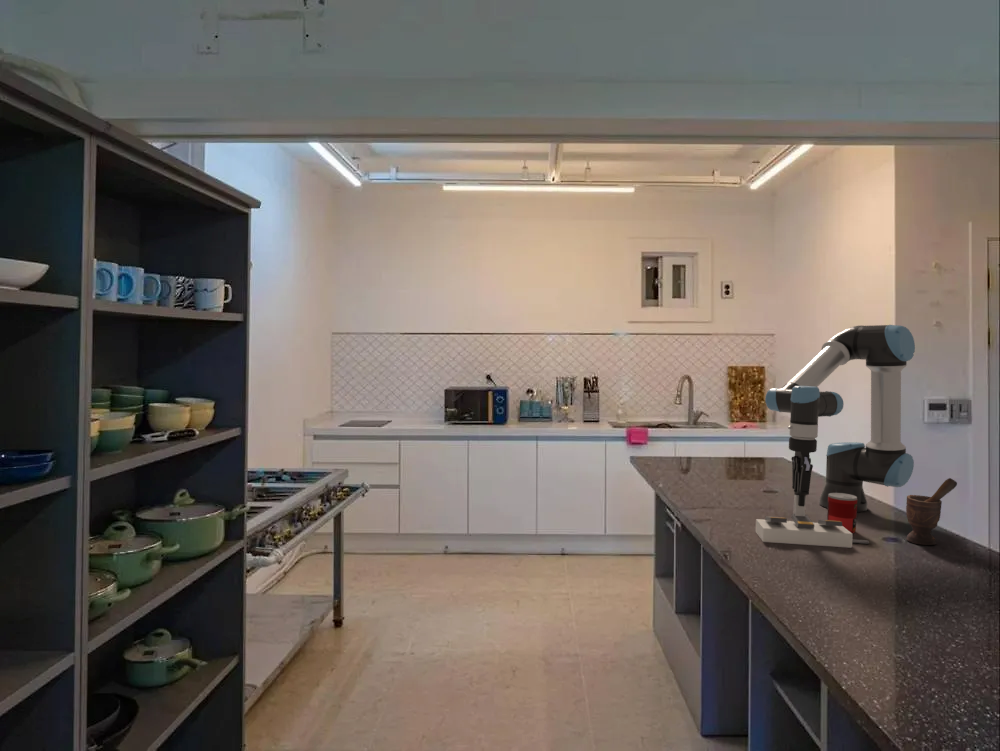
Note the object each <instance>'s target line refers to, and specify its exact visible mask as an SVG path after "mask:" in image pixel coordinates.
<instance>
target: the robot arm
mask: <svg viewBox="0 0 1000 751" xmlns="http://www.w3.org/2000/svg"><path fill="white" fill-rule="evenodd" d="M915 346H916V345H915V339H914V336H913V333H912V332H911V331H910V329H909V328H907V327H906V326H904V325H897V324H896V325H895V324H887V325H886V324H883V325H882V324H881V325H876V324H875V325H854V326H852V327H851V326H850V327H848V328H846V329H843V330H842V331H840V332H838V333H836V334H835V335H833V336H832V337H830V338H829V339H828V340H827V341H826V342H824V343H823V344H822V346H821V349H820V351H819V352H818V353H817V354H816V355H815V356H814V357H813V358H811V360H810V361H808V362H807V363H806V364H805V366H803V367H802V368H801V369H800V370H799V371H798V372H797V373H796V374H795V375H794V376H792V378H790V379H789V380H788V381H787V382H786V383H785V384H784V385H783V386H782V387H780V388H779V387H773V388H769V390H768V391H767V392H766V394H765V399H764V400H765V405H766V407H767V408H768V409H769V410H770V411H772V412H773V411H774V412H779V413H789V414H790V419H789V426H787V428H788V430H789V436H790V437H789V439H788V450H790V451H793V452H794V455H793V456H791V458H790V459H791V465H792V467H791V468H792V470H791V471H792V473H791V474H792V475H791V476H792V477H791V478H792V479H791V480H792V487H791V488H792V490H793V492H794V495H793V498H794V499H793V513H792V514H795V516H805V515H806V505H807V496H809V495H810V494H809V493H810V488H811V487H810V486H811V478H812V471H813V467H814V465H813V464H812V459H811V457H810V454H811V453H815V452H817V450H818V449H817V448H818V446H817V444H818V440H817V438H818V433H819V425H818V424H819V417H820V418H822V417H833V416H837V415H838V414H840V413H841V412H842V411H843V409H844V400H843V398H842V396H841V394H839V393H838V392H836V391H829V390H826V391H820V388H819V386H820V385H821V384H822V383H823V382H824V381H825V380H826V379H827V378H828V377H829V376H830V375H832V373H834V371H835V370H837V369H838V368H839V367H840V366H844V365H845V364H846V365H847V364H848V362H849V361H854V360H862V361H863V360H865V366H866V368H868V369H869V370H870V441H869V442H867V443H866V444H865V443H864V442H857V441H856V442H855V441H854V442H834V443H830V444H829V445H828V446H827V448H826V449H827V451H826V455H825V456H826V466H825V484H824V486H823V489H822V491H821V494H820V496H819V502H818V503H819V505H820V506H822V507H824V508H825V509H826V508H827V509H828V494H830V493H845V494H850V495H854V496H856V497H857V512H858V513H860V512H866V511H867V510H868V501H867V497H866V494H865V491H864V486H863V483H864V482H865V483H870V484H875V485H881V486H885V487H892V488H901V487H903V486H905V485H906V484H907V483H908V482H909V480H911V479H910V478H911V477H912V474H913V472H914V466H915V463H914V462H915V460H914V458H913V456H912V455H911V454H909V453H908V452H907V449H906V448H907V446H905V444H904V443H902V442H901V432H902V431H901V425H902V424H901V418H902V417H901V416H902V413H901V411H902V410H901V409H902V407H901V405H902V404H901V402H902V370H903V369H905V368H906V367H907V365H908V364H907V362H908V361H910V360H911V361H912V359H913V358H914V353H915V352H916V350H915V349H916V347H915Z"/></svg>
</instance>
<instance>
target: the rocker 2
mask: <svg viewBox="0 0 1000 751" xmlns="http://www.w3.org/2000/svg"><path fill="white" fill-rule="evenodd" d="M817 523H818V524H822V525H830V526H842V522H841V521H834V520H827V519H818V520H817Z"/></svg>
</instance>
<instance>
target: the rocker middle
mask: <svg viewBox="0 0 1000 751" xmlns="http://www.w3.org/2000/svg"><path fill="white" fill-rule="evenodd" d="M791 519H792V521H794V522H795V524H796V526H797V527H798V528H810V529H814V524H813V523H814V521H812V519H811V518H810V516H809V515H808V514H805V516H795V514H793V513H792V514H791Z"/></svg>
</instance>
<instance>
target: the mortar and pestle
mask: <svg viewBox="0 0 1000 751" xmlns="http://www.w3.org/2000/svg"><path fill="white" fill-rule="evenodd" d="M957 485H958V482H957V481H956V480H955V479H953V478H950V477H949V478H946V479H945V480H944V482H942V483H941V485H940V486H939V487H938V488H937V490H936V491H935V492H934V494H933V495H931V496H927V495H921V494H919V495H918V494H908V495H906V504H905V505H906V506H905V515H906V518H907V523H908V524H909V525H910V526H911V528H912V531H910V532H909V533H908V534H907V535H906V537H905V540H906V541H908V542H910V543H912V544H917V545H921V546H933V545H937V541H936V538H935V537H934V536H933V535H932V534H931V533H932V530H934V529H936V528H937V526H938V523H939V521H940V520H941V519H940V518H941V512H942V502H943V501H942V500H941V499H943V498H944V497H945V496H946V495H948V494H950V492H951V491H952V490H954V489H955V488H956V487H957Z"/></svg>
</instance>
